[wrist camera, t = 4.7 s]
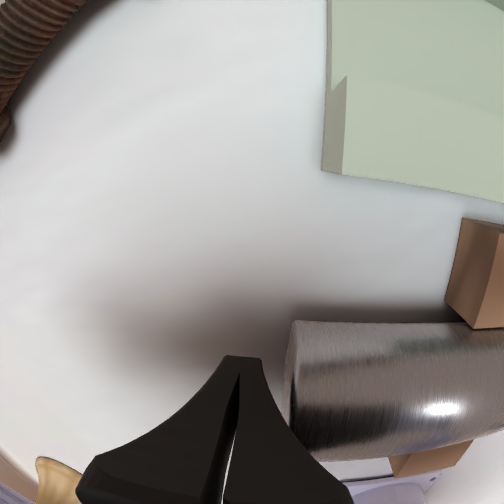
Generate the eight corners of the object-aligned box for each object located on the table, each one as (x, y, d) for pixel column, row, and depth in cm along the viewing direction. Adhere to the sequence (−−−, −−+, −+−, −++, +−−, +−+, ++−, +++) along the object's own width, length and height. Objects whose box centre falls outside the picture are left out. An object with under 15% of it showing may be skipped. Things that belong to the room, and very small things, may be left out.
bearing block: (441, 437, 14) (454, 465, 11) (384, 445, 14) (394, 478, 11) (522, 228, 10) (557, 244, 8) (462, 217, 10) (499, 232, 8)
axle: (536, 304, 11) (595, 333, 6) (510, 384, 12) (556, 426, 7) (292, 301, 12) (306, 364, 7) (279, 405, 13) (281, 490, 8)
